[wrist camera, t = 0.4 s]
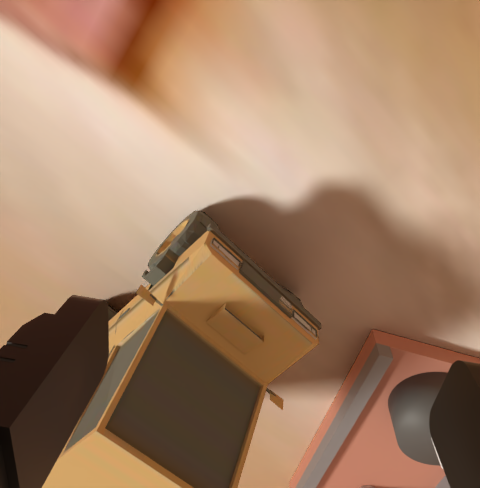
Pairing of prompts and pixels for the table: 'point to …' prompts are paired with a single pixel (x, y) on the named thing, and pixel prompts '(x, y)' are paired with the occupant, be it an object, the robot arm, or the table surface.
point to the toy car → (187, 369)
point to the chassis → (381, 420)
